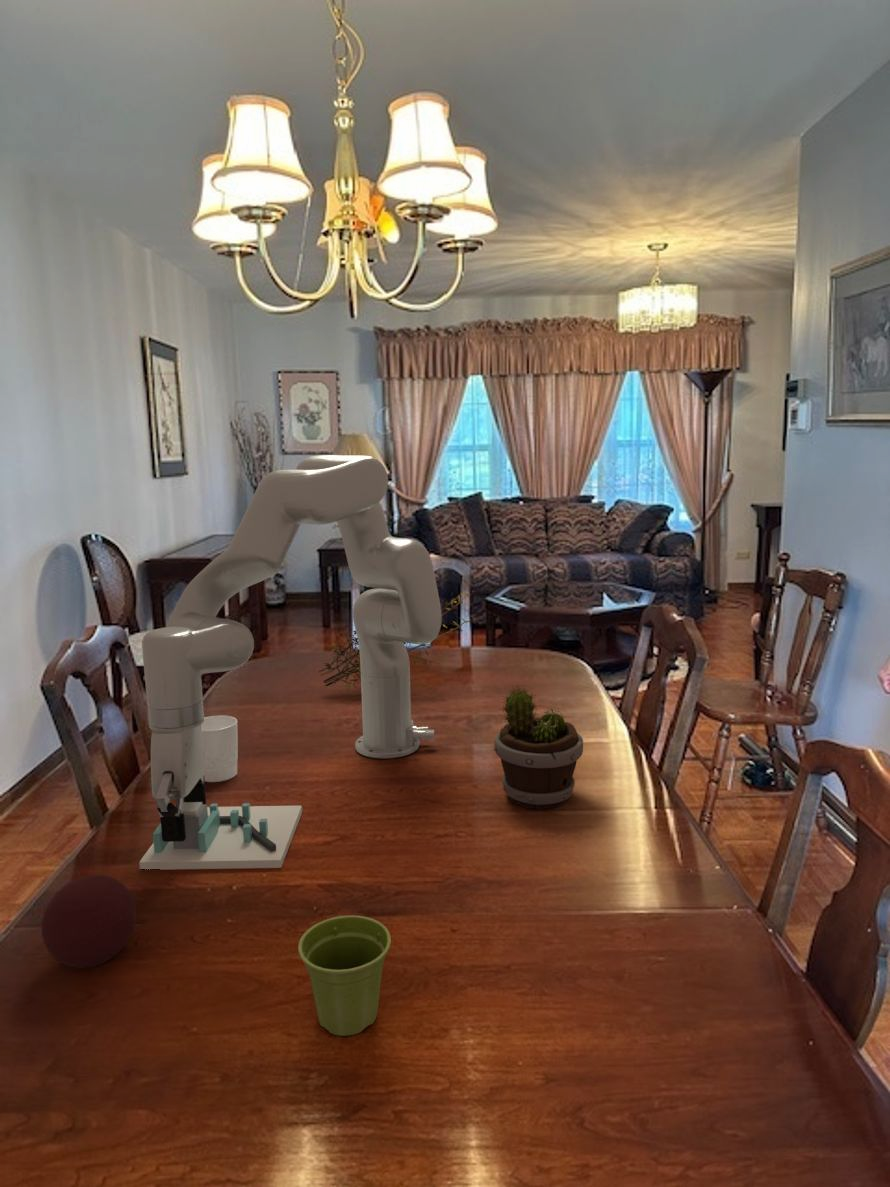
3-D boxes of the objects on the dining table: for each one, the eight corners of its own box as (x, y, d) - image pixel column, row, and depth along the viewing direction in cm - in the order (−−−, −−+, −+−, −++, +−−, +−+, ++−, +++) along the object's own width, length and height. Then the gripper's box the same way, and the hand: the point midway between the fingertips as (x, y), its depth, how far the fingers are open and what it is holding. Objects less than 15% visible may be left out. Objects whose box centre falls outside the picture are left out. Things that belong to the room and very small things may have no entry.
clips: (275, 816, 124) (274, 802, 124) (264, 842, 116) (263, 827, 116) (212, 817, 124) (211, 803, 124) (196, 843, 116) (195, 828, 116)
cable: (296, 835, 118) (296, 830, 118) (272, 852, 113) (272, 846, 113) (217, 814, 125) (217, 809, 125) (192, 829, 120) (191, 824, 120)
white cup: (228, 785, 139) (224, 731, 137) (187, 782, 140) (183, 729, 138) (248, 767, 146) (244, 716, 144) (209, 764, 148) (205, 714, 146)
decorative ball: (147, 966, 91) (140, 887, 89) (51, 999, 85) (41, 916, 84) (130, 923, 99) (123, 850, 97) (42, 951, 94) (32, 874, 92)
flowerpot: (592, 785, 136) (594, 674, 132) (567, 824, 123) (569, 702, 119) (513, 772, 142) (513, 665, 138) (481, 808, 129) (480, 690, 125)
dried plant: (290, 639, 170) (475, 547, 172) (300, 620, 201) (458, 542, 203) (353, 760, 174) (533, 669, 176) (354, 723, 205) (508, 646, 207)
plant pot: (306, 988, 87) (302, 917, 85) (392, 982, 87) (389, 911, 86) (298, 1053, 77) (293, 974, 76) (394, 1045, 78) (391, 967, 76)
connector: (209, 835, 119) (206, 800, 117) (201, 848, 115) (198, 812, 114) (183, 835, 119) (180, 800, 118) (173, 848, 115) (170, 813, 114)
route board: (302, 812, 128) (301, 805, 128) (281, 867, 111) (280, 859, 111) (179, 814, 128) (178, 807, 128) (140, 870, 111) (139, 862, 111)
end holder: (218, 832, 119) (216, 813, 119) (206, 852, 114) (204, 833, 113) (168, 832, 119) (167, 814, 119) (154, 853, 114) (152, 833, 113)
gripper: (170, 695, 121) (179, 798, 124) (126, 736, 104) (137, 854, 107) (219, 694, 121) (226, 797, 124) (182, 735, 104) (192, 853, 107)
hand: (185, 824), depth 116 cm, fingers open, 9 cm apart
